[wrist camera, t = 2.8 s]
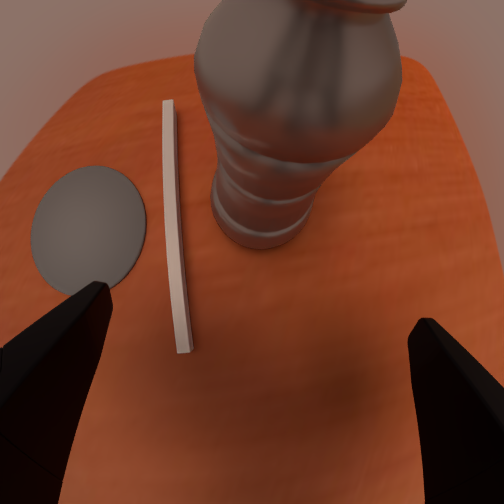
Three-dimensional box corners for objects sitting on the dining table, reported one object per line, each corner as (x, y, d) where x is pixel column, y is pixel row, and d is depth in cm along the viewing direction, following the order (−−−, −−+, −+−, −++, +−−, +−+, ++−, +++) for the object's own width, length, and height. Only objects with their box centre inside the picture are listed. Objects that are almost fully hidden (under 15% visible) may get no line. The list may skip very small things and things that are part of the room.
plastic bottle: (203, 246, 22) (100, -51, 2) (223, 158, 23) (225, -125, 3) (295, 263, 22) (544, 69, 2) (308, 175, 23) (445, -70, 4)
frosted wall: (167, 114, 24) (162, 100, 22) (176, 113, 24) (173, 99, 22) (182, 349, 20) (177, 353, 19) (193, 348, 21) (190, 352, 19)
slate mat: (170, 197, 22) (169, 195, 22) (107, 322, 20) (105, 322, 20) (73, 151, 22) (71, 149, 22) (16, 258, 21) (13, 257, 20)
